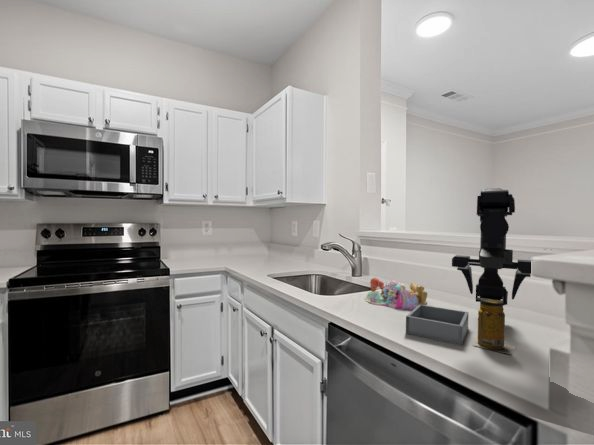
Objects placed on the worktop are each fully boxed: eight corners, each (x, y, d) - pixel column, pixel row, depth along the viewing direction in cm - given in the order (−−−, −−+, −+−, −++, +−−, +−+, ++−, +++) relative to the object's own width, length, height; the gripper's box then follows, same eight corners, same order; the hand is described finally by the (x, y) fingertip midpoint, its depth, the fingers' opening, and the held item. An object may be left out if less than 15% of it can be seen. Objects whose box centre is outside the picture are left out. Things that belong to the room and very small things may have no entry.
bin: (418, 319, 105) (419, 304, 105) (468, 328, 97) (468, 312, 96) (405, 333, 91) (406, 316, 91) (461, 345, 83) (462, 326, 83)
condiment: (479, 338, 88) (480, 296, 88) (515, 347, 82) (517, 302, 82) (472, 346, 82) (473, 301, 82) (511, 356, 77) (512, 307, 77)
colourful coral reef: (418, 297, 138) (419, 276, 138) (437, 312, 115) (438, 287, 115) (361, 294, 140) (362, 274, 140) (368, 309, 117) (369, 284, 117)
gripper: (449, 237, 80) (447, 296, 81) (540, 240, 70) (538, 309, 70) (455, 235, 90) (454, 289, 90) (536, 238, 79) (535, 299, 79)
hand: (491, 296), depth 82 cm, fingers open, 9 cm apart
